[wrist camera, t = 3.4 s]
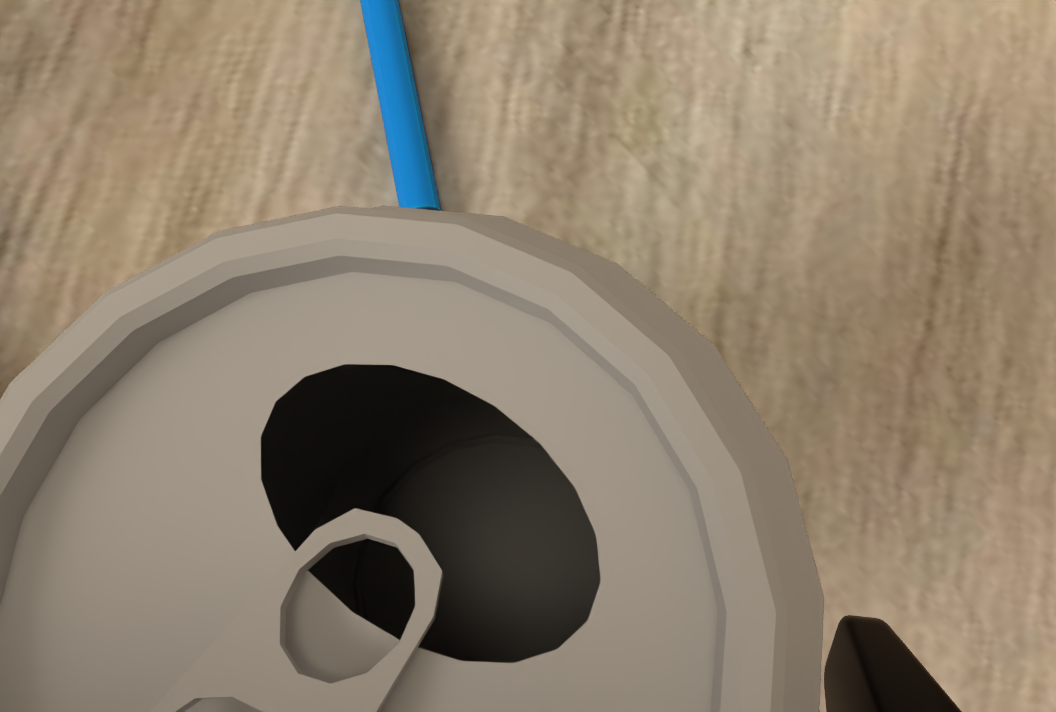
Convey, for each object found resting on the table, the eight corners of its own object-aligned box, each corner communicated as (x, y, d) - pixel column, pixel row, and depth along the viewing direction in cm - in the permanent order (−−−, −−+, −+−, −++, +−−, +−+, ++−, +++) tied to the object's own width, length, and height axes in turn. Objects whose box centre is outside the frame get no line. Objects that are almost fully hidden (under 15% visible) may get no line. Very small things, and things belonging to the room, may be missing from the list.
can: (754, 528, 17) (1114, 469, 5) (550, 863, 16) (453, 1694, 4) (456, 334, 18) (234, -45, 7) (247, 629, 17) (-447, 778, 6)
